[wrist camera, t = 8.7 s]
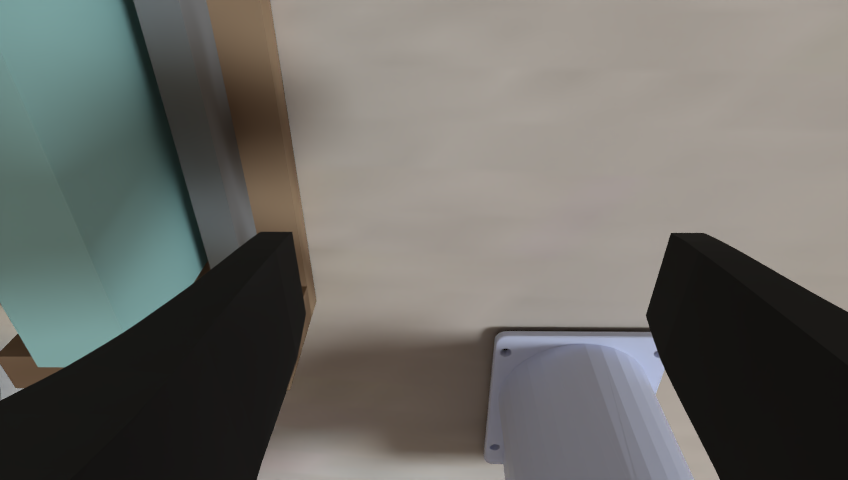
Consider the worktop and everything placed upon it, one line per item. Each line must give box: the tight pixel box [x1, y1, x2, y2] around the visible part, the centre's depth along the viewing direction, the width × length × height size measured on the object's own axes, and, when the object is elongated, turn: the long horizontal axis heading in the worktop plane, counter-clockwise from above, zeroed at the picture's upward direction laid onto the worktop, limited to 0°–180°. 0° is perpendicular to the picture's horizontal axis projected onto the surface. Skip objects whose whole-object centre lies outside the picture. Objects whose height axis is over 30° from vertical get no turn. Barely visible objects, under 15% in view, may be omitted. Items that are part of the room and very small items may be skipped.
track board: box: [0, 0, 316, 390], centre depth 15 cm, size 19×10×5 cm, turn 0°
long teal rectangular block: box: [0, 0, 208, 367], centre depth 14 cm, size 12×3×6 cm, turn 0°
